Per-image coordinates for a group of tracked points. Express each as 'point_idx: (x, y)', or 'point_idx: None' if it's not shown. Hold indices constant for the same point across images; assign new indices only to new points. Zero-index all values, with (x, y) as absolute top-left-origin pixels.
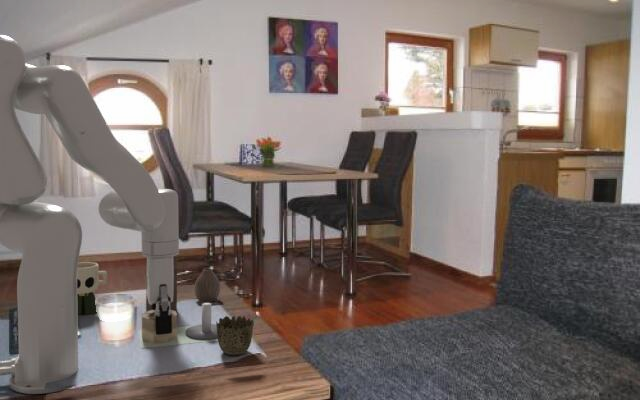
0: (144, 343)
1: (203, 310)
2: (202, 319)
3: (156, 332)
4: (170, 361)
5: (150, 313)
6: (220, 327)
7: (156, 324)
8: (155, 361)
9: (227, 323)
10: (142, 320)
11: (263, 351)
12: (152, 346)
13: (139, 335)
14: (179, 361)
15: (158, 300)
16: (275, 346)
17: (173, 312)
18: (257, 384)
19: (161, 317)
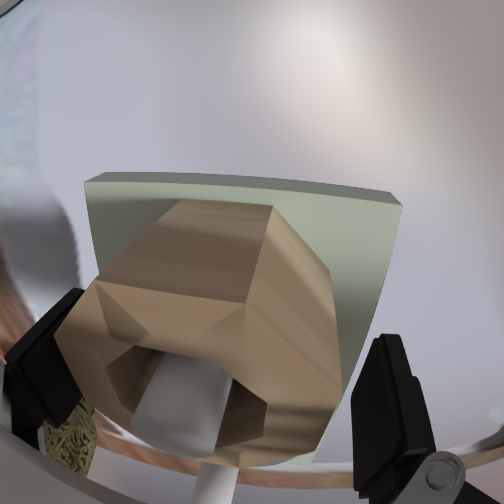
0: (139, 204)
1: (196, 502)
2: (210, 469)
3: (68, 294)
4: (53, 269)
5: (223, 369)
6: (54, 444)
7: (41, 324)
8: (51, 223)
9: (73, 464)
10: (129, 263)
11: (129, 441)
12: (96, 237)
13: (296, 193)
14: (55, 293)
15: (384, 485)
16: (155, 460)
17: (212, 457)
18: (3, 362)
19: (10, 372)
